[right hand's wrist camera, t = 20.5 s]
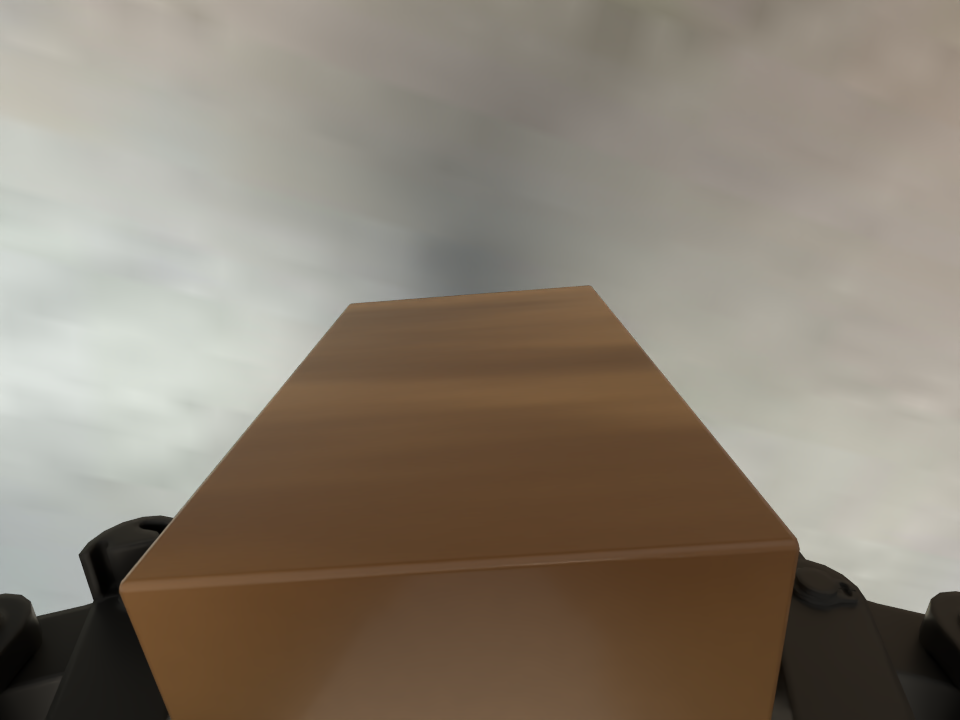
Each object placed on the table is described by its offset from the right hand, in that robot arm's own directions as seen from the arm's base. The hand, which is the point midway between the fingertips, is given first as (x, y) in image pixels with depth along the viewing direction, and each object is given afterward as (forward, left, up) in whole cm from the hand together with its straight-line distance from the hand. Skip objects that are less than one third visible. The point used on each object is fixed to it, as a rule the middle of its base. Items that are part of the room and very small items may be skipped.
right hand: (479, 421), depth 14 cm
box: (+6, +6, -1) cm, 9 cm away
